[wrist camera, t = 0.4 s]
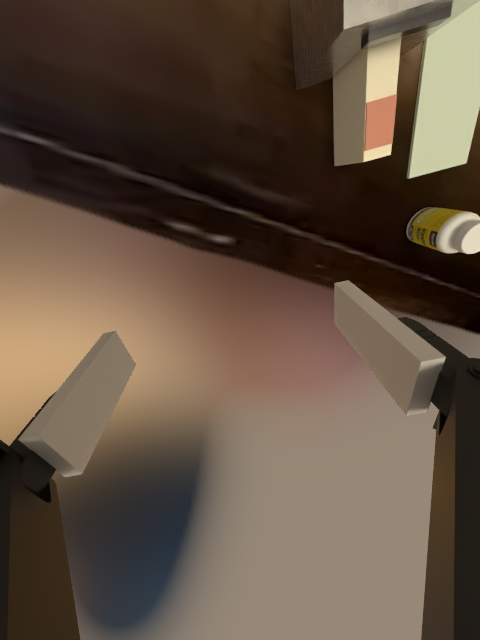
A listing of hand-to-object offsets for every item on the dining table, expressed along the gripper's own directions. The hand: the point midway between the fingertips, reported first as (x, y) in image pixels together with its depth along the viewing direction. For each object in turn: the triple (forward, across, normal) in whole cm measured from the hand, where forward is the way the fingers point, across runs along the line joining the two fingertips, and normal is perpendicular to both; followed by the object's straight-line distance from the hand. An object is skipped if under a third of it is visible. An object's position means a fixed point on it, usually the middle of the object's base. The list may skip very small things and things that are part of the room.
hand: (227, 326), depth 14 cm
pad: (+26, +32, +11) cm, 43 cm away
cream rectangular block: (+26, +19, +12) cm, 35 cm away
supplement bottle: (+27, +32, -5) cm, 42 cm away
